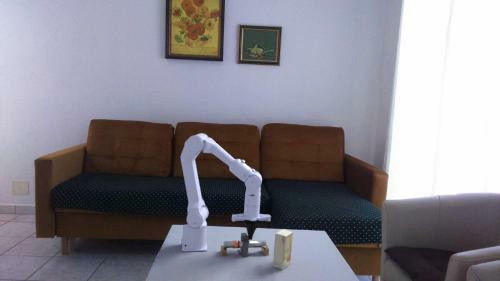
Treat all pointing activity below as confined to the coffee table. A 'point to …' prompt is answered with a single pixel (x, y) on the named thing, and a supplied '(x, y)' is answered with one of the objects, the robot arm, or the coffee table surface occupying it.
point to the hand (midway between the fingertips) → (249, 238)
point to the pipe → (240, 245)
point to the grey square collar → (244, 244)
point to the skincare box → (282, 249)
